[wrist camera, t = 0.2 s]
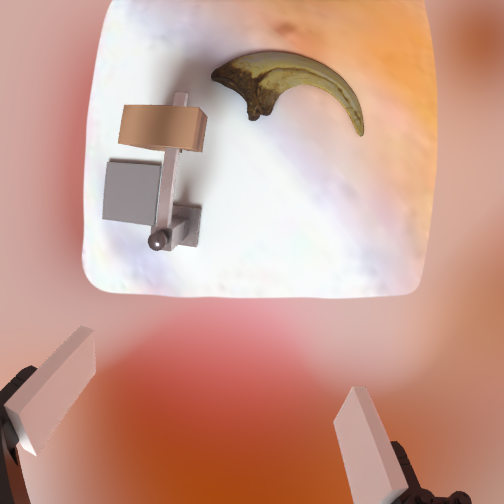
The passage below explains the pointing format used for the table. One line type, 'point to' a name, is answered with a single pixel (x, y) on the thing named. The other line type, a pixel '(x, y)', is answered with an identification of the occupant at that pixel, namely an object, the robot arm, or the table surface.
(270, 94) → the claw
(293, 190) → the table surface
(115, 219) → the mat
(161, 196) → the grey lever handle
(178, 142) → the tan brick
